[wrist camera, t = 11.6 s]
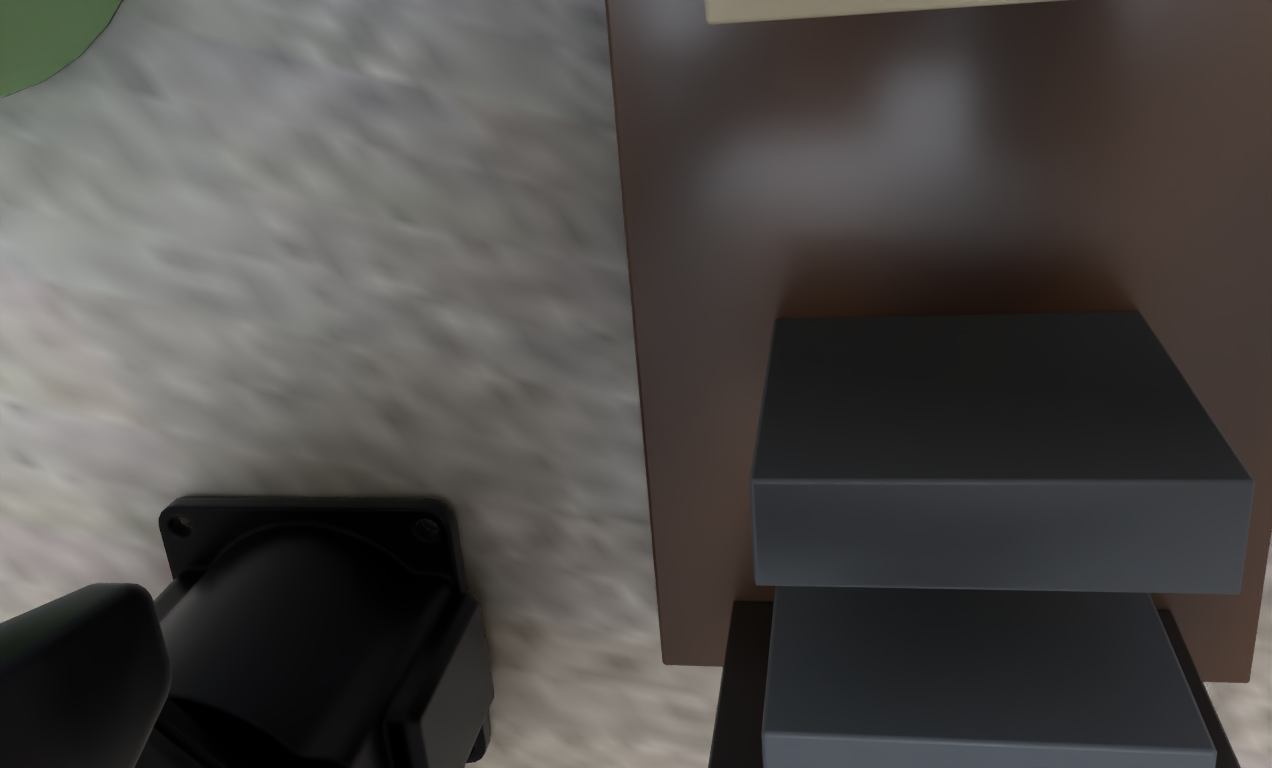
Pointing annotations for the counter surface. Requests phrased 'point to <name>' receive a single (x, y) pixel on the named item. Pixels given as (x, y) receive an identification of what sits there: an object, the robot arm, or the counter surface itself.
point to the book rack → (932, 247)
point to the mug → (46, 37)
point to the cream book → (827, 8)
